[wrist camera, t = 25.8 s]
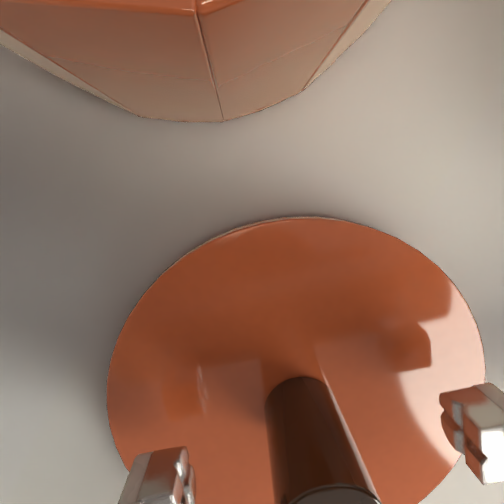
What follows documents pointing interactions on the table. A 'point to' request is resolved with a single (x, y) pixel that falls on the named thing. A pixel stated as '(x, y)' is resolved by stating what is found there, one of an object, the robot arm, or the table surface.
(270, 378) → the pot lid
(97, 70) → the pot
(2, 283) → the table surface
